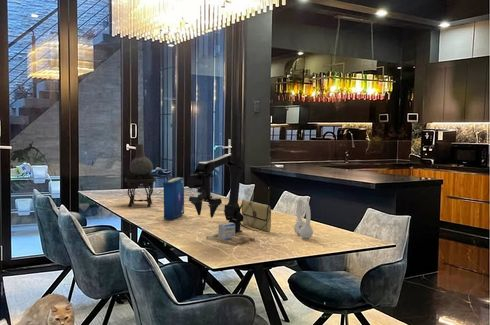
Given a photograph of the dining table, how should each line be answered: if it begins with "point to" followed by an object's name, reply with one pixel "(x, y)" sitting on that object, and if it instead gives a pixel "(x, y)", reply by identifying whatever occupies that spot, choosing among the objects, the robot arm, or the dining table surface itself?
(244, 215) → the clutch purse
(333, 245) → the dining table surface
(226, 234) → the medicine box
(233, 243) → the light wood flat frame
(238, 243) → the block
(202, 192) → the robot arm
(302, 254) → the dining table surface
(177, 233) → the dining table surface
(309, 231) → the headphones
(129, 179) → the brazier
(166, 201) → the book
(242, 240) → the offcut top
